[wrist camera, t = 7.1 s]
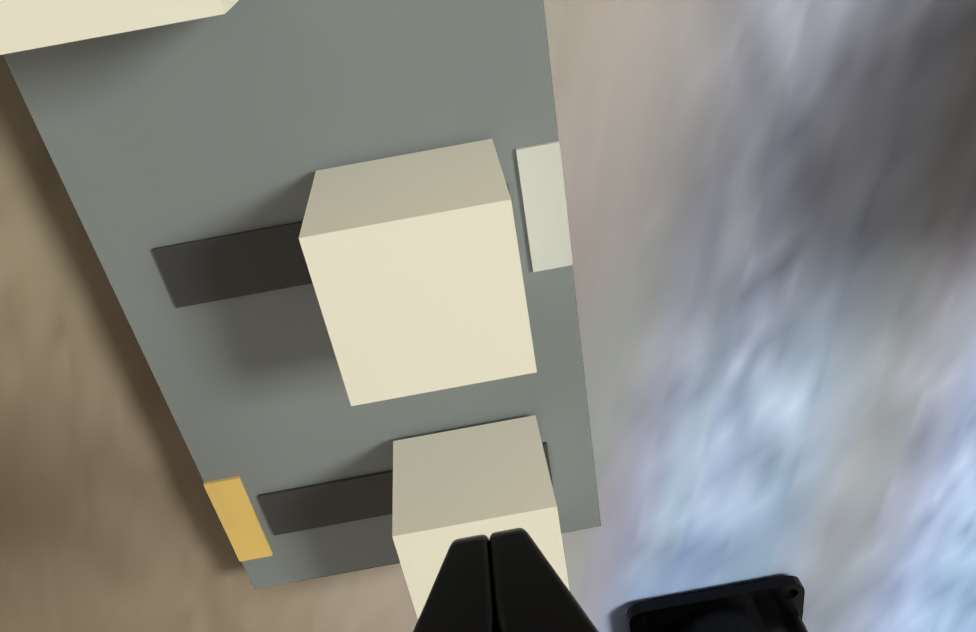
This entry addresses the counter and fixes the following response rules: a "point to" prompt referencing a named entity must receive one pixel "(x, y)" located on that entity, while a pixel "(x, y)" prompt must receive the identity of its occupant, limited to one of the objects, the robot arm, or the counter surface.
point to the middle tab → (418, 272)
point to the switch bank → (277, 250)
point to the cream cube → (470, 496)
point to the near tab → (92, 19)
